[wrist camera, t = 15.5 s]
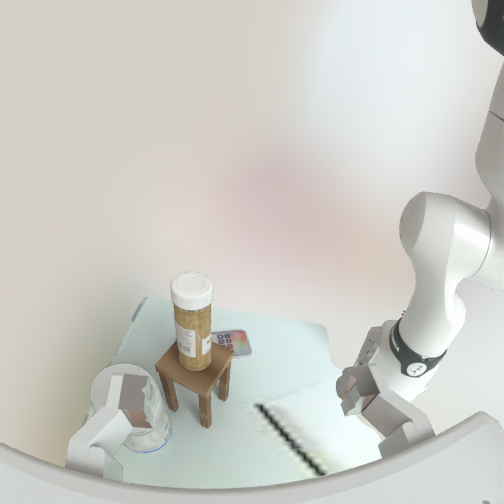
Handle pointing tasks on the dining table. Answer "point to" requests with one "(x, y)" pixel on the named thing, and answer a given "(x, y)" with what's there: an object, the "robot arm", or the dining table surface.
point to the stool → (196, 378)
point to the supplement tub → (161, 432)
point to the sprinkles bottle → (193, 318)
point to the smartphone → (233, 342)
